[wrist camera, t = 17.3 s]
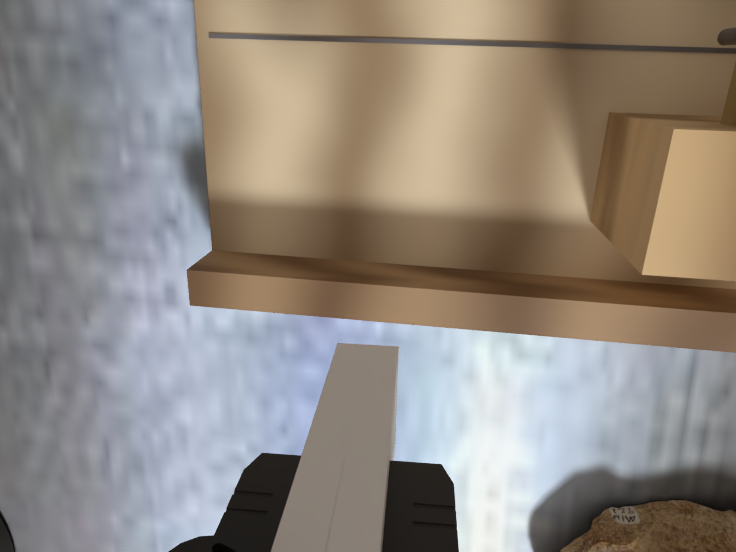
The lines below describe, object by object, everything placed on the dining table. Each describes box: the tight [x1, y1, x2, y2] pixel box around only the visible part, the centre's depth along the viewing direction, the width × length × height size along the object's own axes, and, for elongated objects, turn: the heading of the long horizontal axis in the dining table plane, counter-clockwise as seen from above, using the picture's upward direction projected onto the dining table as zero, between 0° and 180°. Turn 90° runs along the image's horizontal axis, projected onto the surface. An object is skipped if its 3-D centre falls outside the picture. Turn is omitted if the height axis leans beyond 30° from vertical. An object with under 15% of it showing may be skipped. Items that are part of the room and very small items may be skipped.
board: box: [187, 0, 736, 353], centre depth 20 cm, size 24×12×4 cm, turn 88°
